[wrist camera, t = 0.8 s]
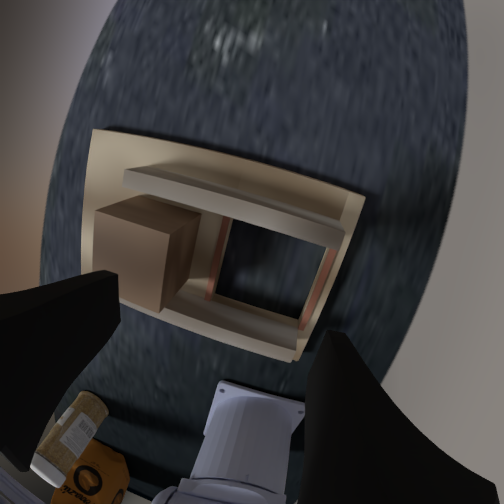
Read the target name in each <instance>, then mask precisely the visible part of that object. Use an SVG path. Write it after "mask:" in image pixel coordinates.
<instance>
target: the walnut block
mask: <svg viewBox="0 0 504 504" xmlns="http://www.w3.org/2000/svg"><path fill="white" fill-rule="evenodd" d="M201 215H202V214H201V213H198V212H194V211H191V210H188V209H184V208H181V207H177V206H174V205H170V204H167V203H163V202H160V201H156V200H153V199H149V198H146V197H142V196H135V197H132V198H129V199H126V200H123V201H120V202H117V203H114V204H111V205H108V206H106V207H103V208H100V209H97V210H95V216H94V231H93V257H92V272H95V271H100V270H107V271H110V272H113V273H116V274H118V282H119V297H120V298H122V299H124V300H127V301H129V302H131V303H134V304H136V305H138V306H141V307H143V308H146V309H148V310H151V311H153V312H156V313H158V314H159V313H160V312H161V311H162V310H163V309H164V307H165V306H166V305H167V304H168V303H169V301H170V300H171V299H172V298H173V297H174V296H175V294H176V293H177V292H178V291H179V290H180V289H181V287H182V286H183V285H184V284H185V283H186V282H187V280H188V279H189V275H190V269H191V264H192V259H193V254H194V249H195V244H196V239H197V234H198V229H199V224H200V219H201Z"/></svg>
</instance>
